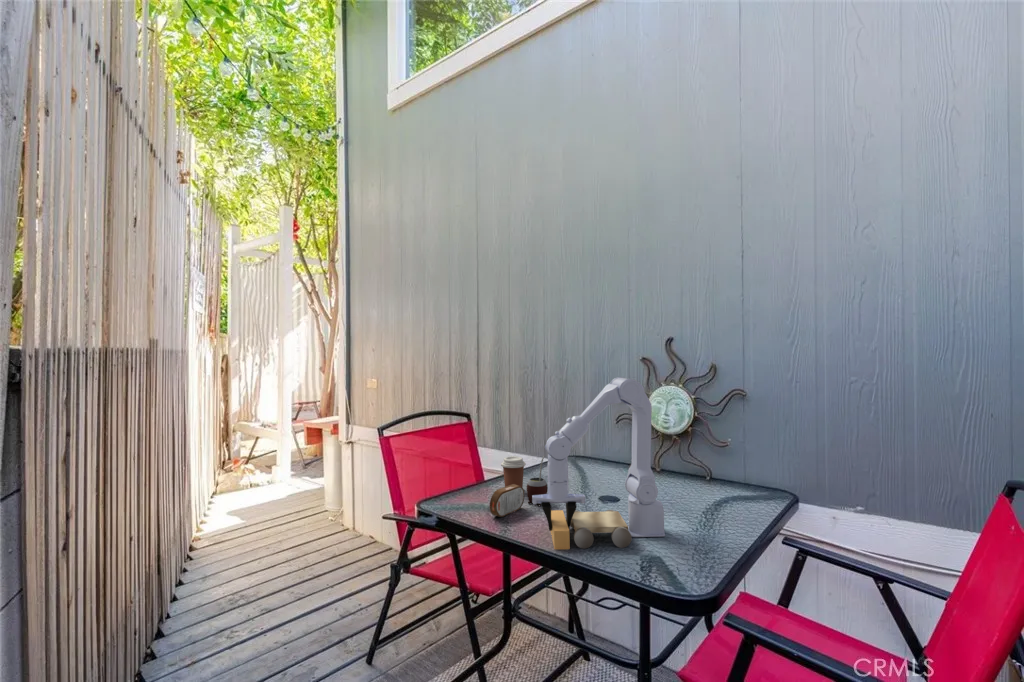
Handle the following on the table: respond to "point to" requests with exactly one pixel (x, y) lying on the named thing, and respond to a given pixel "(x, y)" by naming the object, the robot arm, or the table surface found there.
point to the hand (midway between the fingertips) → (559, 529)
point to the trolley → (599, 527)
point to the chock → (559, 530)
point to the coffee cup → (513, 470)
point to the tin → (506, 500)
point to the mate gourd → (536, 486)
